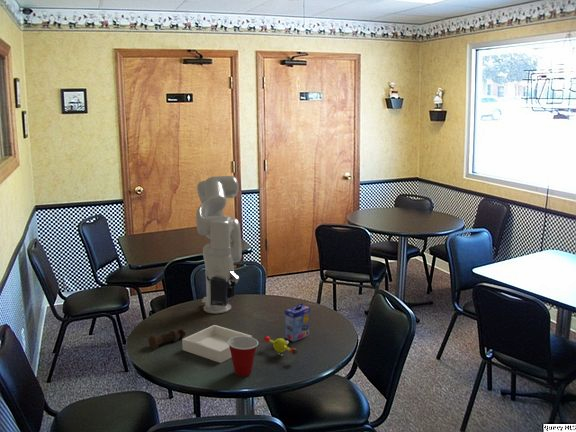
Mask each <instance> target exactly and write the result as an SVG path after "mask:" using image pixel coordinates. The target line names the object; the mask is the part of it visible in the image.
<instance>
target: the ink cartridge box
mask: <svg viewBox="0 0 576 432" xmlns="http://www.w3.org/2000/svg"><path fill="white" fill-rule="evenodd" d="M310 311H311V307H310V306H308V305H307V306H306V305H304V302H301V303H299V304H297V305H296V306H294V307H289V308H287V309H285V310H284V313H285V314H284V318H285V319H284V339H285V340H286V339H287V340H288V341H290V342H297V341H298V340H301V339H303V338H306V337H308V336H309V335H310V322H311V321H310V320H311V316H310V315H311V313H310Z"/></svg>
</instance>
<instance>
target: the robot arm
mask: <svg viewBox="0 0 576 432" xmlns="http://www.w3.org/2000/svg"><path fill="white" fill-rule="evenodd" d="M239 185H240V184H239V181H238V179H237V178H236V177H235V176H234V175H219V176H218V175H215V176H214V175H213V176H210V177H208V178H206V180H201V181H199V182H198V183H197V185H196V187H197V188H196V191H197V194H198V197H199V201H200V203H201V204H200V206H199V207H198V209H197V210H196V213H195V220H196V222H195V223H196V231H197V233H198V234H199V235H200V236H206V238H208V239H210V242H209V243H207V244H204V246H203V248H202V256H203V261H204V268H205V272H204V275H205V284H206V286H205V288H206V289H205V290H206V296H204V297H203V298H202V300H201V302H202V303H204V304H205V305H204V306H203V311H204V312H205V313H208V314H213V315H214V314H216V315H217V314H224V313H227V312H229V311H231V309H232V305H231V304H230V303H228V304H227V305H226V306H218V305H211V291H210V279H211V278H212V277H216V278H221V279H225V280H226V282H227V284H228V287H229V288H227V289H228V298H231V297H234V298H235V287H236V285H237V284H238V282H239V281H240V277H239V275H237V274H236V273H235V267H234V263H238V262H240V261H241V260H242V255H243V254H242V252H243V249H242V236H241V235H242V234H241V223H240V221H239V220H238V219H237V218H236V217H230V216H229V215H224V209H225V208H226V206H227V199H234V198H235V197H236V196H237V195H238V194H239V190H240V186H239ZM230 282H231V284H230Z"/></svg>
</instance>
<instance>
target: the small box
mask: <svg viewBox="0 0 576 432" xmlns="http://www.w3.org/2000/svg"><path fill="white" fill-rule="evenodd" d="M230 284H231V282H230ZM227 288H229V287H228V284H227V282H226V280H225V279H221V278H216V277H212V278H211V279H210V291H211V305H218V306H226V305H227V304H230V303H231V301H232V300H234V298H235V296H234V297H231V298H228V289H227Z"/></svg>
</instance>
